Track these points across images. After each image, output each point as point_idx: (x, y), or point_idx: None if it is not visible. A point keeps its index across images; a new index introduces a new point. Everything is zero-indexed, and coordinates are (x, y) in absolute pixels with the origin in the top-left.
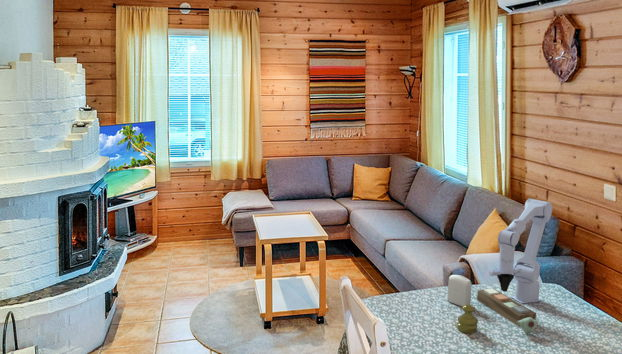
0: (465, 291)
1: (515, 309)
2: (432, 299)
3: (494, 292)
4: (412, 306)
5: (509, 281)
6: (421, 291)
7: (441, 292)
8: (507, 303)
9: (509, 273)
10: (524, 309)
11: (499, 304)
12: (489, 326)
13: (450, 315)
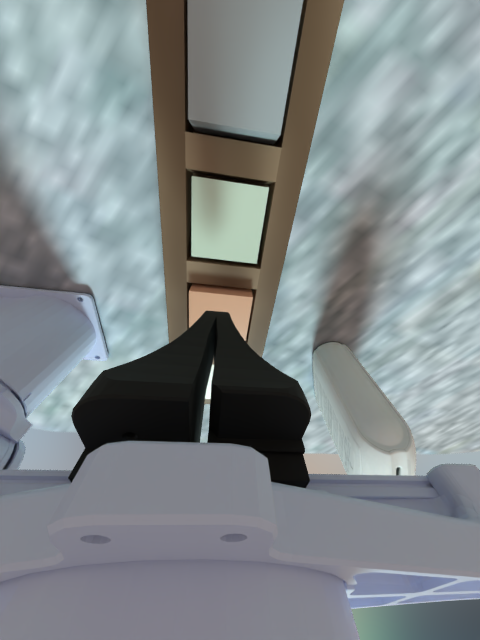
0: (386, 397)
1: (285, 95)
2: None
3: (212, 368)
4: (459, 397)
5: (184, 351)
6: None
7: None
8: (233, 248)
9: (270, 489)
10: (227, 14)
11: (282, 261)
12: (455, 131)
13: (449, 313)
